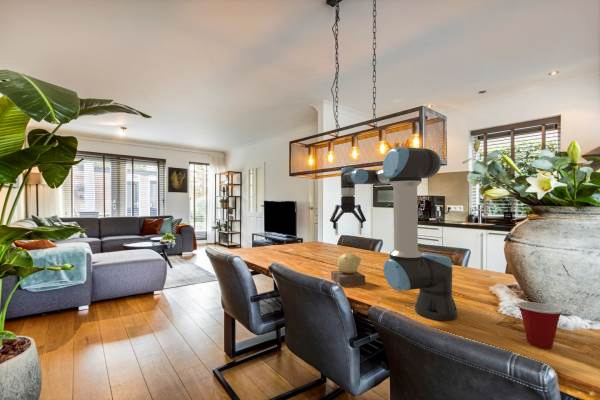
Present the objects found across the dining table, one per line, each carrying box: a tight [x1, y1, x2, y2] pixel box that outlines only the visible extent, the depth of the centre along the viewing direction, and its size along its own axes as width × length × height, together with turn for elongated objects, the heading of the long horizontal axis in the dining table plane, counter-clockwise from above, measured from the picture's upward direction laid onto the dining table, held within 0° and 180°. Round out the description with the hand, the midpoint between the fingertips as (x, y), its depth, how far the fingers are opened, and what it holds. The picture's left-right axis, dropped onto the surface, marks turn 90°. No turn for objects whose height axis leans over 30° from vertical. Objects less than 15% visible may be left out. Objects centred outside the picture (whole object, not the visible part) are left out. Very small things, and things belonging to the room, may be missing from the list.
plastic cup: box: [516, 301, 563, 350], centre depth 87 cm, size 11×11×12 cm
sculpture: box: [336, 252, 362, 273], centre depth 156 cm, size 12×12×11 cm
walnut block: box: [330, 270, 366, 287], centre depth 155 cm, size 14×14×5 cm
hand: (348, 234), depth 155 cm, fingers open, 13 cm apart
